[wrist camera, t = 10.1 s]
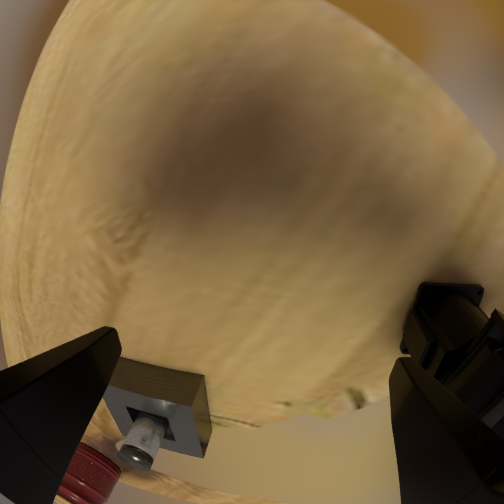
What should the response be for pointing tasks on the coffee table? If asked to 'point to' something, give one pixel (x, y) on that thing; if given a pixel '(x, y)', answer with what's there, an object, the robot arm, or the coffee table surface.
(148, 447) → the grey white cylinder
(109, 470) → the canister
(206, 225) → the coffee table surface
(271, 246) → the coffee table surface
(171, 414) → the chuck block
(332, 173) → the coffee table surface
